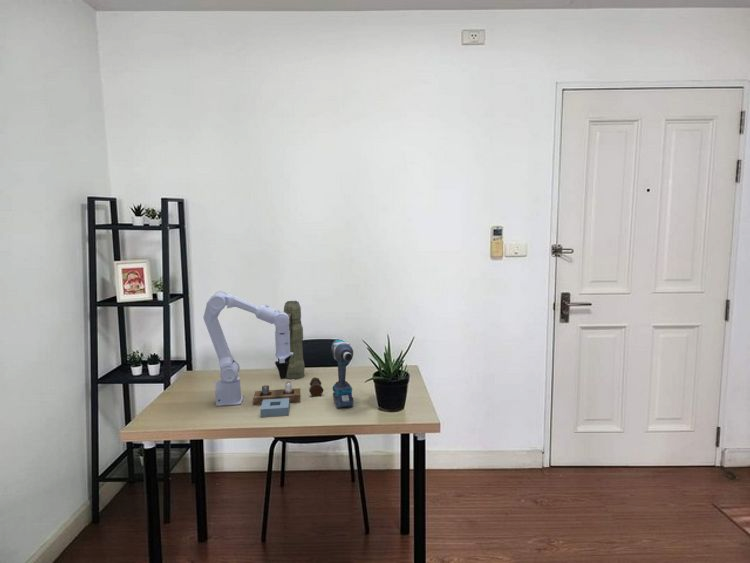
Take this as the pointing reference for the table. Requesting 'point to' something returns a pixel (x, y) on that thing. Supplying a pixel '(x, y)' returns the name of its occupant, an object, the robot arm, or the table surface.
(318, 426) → the table surface
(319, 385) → the bolt
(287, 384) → the steel pin
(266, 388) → the black pin
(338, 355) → the impact wrench
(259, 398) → the rack
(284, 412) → the socket block
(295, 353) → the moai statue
